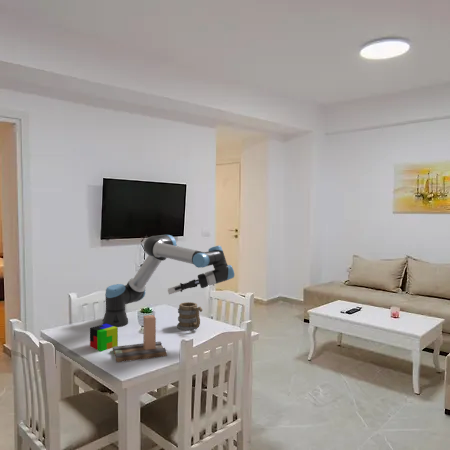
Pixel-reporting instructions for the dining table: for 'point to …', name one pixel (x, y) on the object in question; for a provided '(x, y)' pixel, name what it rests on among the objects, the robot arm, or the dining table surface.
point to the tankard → (188, 316)
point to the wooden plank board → (137, 352)
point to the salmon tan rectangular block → (149, 332)
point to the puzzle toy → (103, 337)
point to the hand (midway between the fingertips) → (168, 291)
